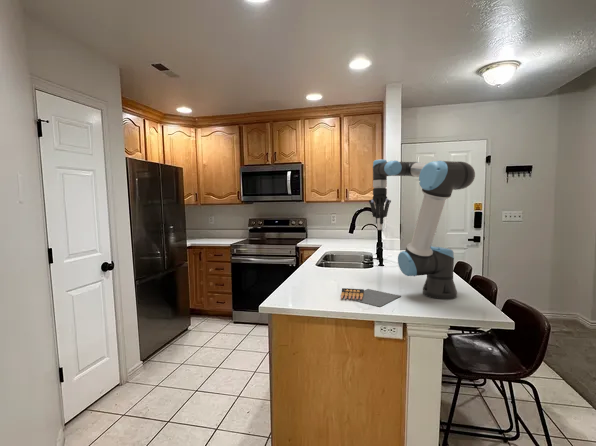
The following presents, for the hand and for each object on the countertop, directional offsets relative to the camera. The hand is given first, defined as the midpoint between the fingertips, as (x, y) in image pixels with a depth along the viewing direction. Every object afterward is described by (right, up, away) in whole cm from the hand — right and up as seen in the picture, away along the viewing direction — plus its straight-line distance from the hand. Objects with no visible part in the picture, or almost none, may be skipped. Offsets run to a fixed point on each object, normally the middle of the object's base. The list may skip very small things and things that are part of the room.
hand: (379, 229), depth 177 cm
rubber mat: (-11, -32, -29) cm, 44 cm away
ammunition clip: (-19, -30, -22) cm, 42 cm away
